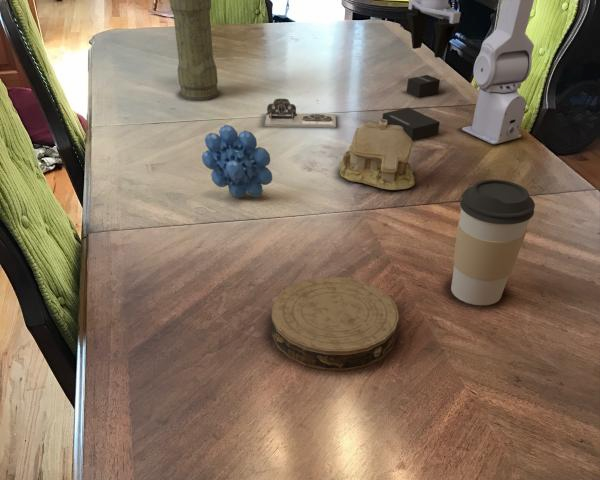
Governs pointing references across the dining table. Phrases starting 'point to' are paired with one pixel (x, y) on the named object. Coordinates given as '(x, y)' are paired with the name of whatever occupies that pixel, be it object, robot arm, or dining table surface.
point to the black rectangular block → (423, 86)
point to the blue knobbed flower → (237, 162)
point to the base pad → (413, 123)
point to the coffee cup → (489, 239)
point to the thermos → (195, 49)
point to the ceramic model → (379, 157)
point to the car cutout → (295, 116)
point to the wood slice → (334, 323)
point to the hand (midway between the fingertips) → (427, 52)
